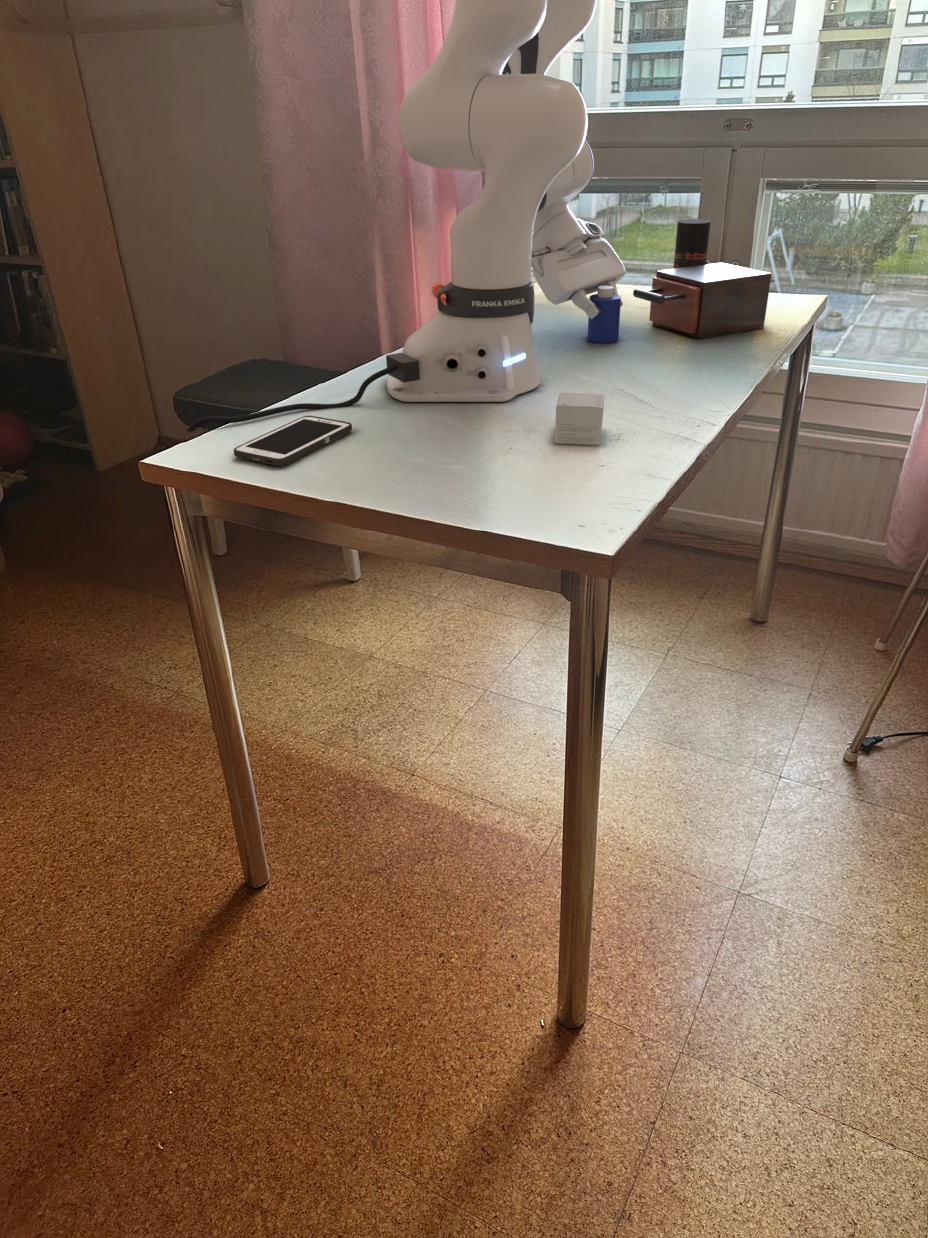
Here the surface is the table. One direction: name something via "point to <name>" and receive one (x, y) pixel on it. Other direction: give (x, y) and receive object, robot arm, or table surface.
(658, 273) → the drawer box
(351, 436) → the table surface
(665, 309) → the wooden drawer
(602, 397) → the small box
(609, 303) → the detergent bottle
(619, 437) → the table surface
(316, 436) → the cell phone
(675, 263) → the deodorant
